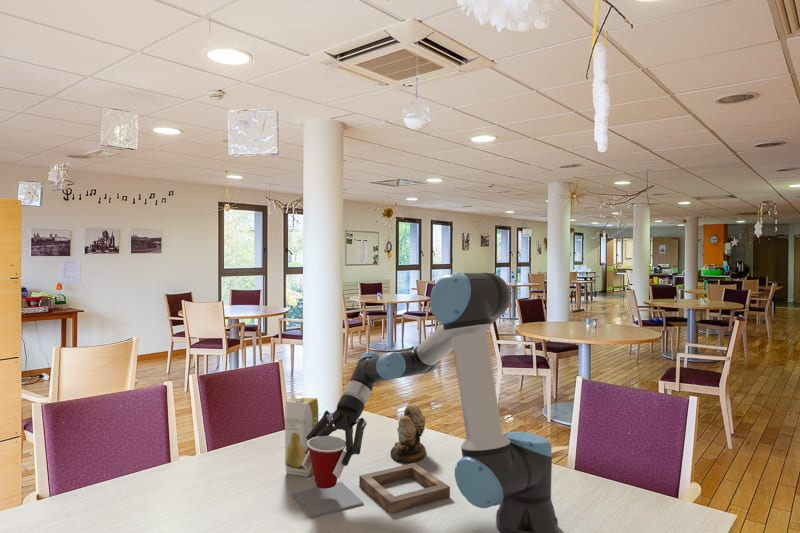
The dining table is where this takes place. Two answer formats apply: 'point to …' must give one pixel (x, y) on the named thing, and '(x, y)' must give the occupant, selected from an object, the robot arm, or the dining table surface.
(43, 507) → the dining table surface
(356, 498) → the rubber mat
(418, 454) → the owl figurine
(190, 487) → the dining table surface
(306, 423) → the juice carton
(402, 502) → the square wooden frame
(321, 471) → the plastic cup
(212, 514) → the dining table surface
